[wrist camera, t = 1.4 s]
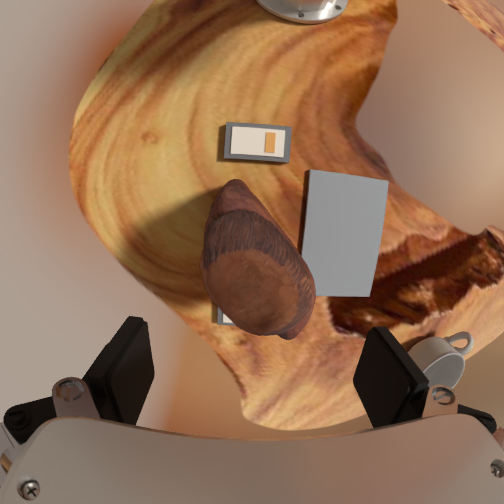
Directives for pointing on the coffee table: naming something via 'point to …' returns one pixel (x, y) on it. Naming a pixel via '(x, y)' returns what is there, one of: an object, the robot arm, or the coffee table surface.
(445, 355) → the teacup
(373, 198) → the mat
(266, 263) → the wooden figurine
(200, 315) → the coffee table surface
